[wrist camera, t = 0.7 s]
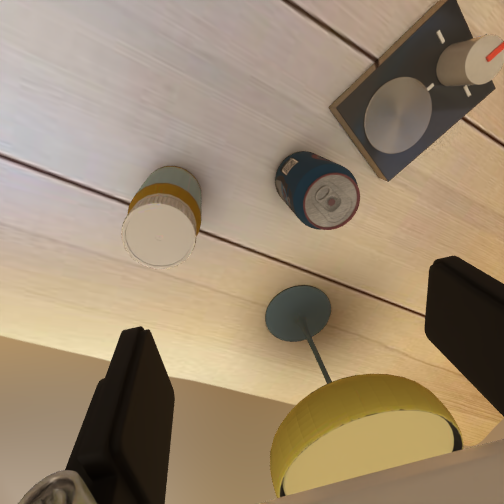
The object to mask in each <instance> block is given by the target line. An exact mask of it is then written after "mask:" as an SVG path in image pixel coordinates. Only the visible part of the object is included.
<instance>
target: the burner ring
mask: <svg viewBox="0 0 504 504" xmlns="http://www.w3.org/2000/svg"><path fill="white" fill-rule="evenodd" d="M431 113H432V102H431V97H430V94H429V92H428V90H427V88H426V87H425V86H424V84H423V83H421V82H420V81H419V80H417V79H415V78H412V77H398V78H394V79H392V80H390V81H387V82H386V83H384V84H383V85H382V86H381V87H379V88H378V89H377V91H376V92H375V93H374V94H373V96H372V97H371V99H370V100H369V102H368V105H367V107H366V110H365V114H364V132H365V135H366V138H367V140H368V141H369V143H370V144H371V145H372V146H373V147H374V148H375V149H376V150H378V151H380V152H383V153H388V154H395V153H399V152H402V151H405V150H407V149H409V148H410V147H412V146H413V145H414V144H415V143H416V142H417V141H418V140H419V139H420V138H421V137H422V135H423V134H424V132H425V131H426V129H427V127H428V124H429V121H430V118H431Z"/></svg>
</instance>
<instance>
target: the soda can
mask: <svg viewBox="0 0 504 504" xmlns="http://www.w3.org/2000/svg"><path fill="white" fill-rule="evenodd" d="M275 185H276V189H277V192H278V194H279V196H280V197H281V198H282V199H283V201H284V202H285V203H286V204H287V205H288V206H289V208H290V209H291V210H292V211H293V212H294V213H295V215H296V216H297V217H298V218H299V219H300V221H301V222H303V223H304V224H305V225H307V226H309V227H311V228H314V229H323V230H332V229H336V228H339V227H341V226H343V225H345V224H346V223H347V222H349V221H350V220H351V219H352V217H353V216H354V215H355V213H356V211H357V209H358V206H359V202H360V192H359V188H358V185H357V182H356V179H355V177H354V176H353V174H352V173H351V172H350V171H349V170H348V169H346V168H345V167H343V166H341V165H338V164H336V163H334V162H332V161H330V160H327V159H325V158H323V157H321V156H318V155H316V154H314V153H311V152H306V151H302V152H297V153H294V154H292V155H290V156H288V157H287V158H286V159H285V160H284V161H283V162H282V163H281V164H280V166H279V168H278V170H277V173H276V177H275Z"/></svg>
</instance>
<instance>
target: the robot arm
mask: <svg viewBox="0 0 504 504" xmlns="http://www.w3.org/2000/svg"><path fill="white" fill-rule="evenodd" d="M425 333H426V336H427V338H428V339H429V340H430V341H431V342H432V343H433V344H434V345H435V346H436V347H437V348H438V349H439V350H440V351H441V352H442V353H443V355H444V356H445V357H446V358H447V359H448V360H449V361H450V362H451V363H452V364H453V365H454V366H455V367H456V368H457V369H458V370H459V371H460V372H461V373H462V374H463V375H464V376H465V377H466V378H467V379H468V380H469V381H470V382H471V383H472V384H473V385H474V386H475V388H476V389H477V390H478V391H479V392H480V393H481V394H482V395H483V396H484V397H485V398H486V399H487V400H488V401H489V402H490V403H491V404H492V405H493V406H494V407H495V408H496V409H497V410H498V411H499V412H500V413H501V414H502V415H503V416H504V284H503V283H501V282H499V281H498V280H496V279H494V278H493V277H491V276H489V275H487V274H486V273H484V272H482V271H481V270H479V269H477V268H476V267H474V266H472V265H471V264H469V263H467V262H465V261H464V260H462V259H460V258H459V257H457V256H449V257H445V258H441V259H437V260H435V261H434V263H433V265H431V266H430V269H429V279H428V291H427V304H426V316H425ZM174 401H175V398H174V390H173V387H172V385H171V382H170V380H169V377H168V374H167V372H166V369H165V367H164V364H163V362H162V359H161V357H160V354H159V352H158V349H157V346H156V344H155V341H154V339H153V336H152V334H151V332H150V330H144V328H143V327H141V326H140V327H136V328H131V329H127V330H123V331H122V333H121V335H120V338H119V341H118V343H117V346H116V349H115V352H114V354H113V357H112V360H111V363H110V366H109V368H108V371H107V374H106V377H105V378H104V379H102V380H100V381H99V383H98V385H97V387H96V390H95V393H94V395H93V398H92V400H91V403H90V406H89V408H88V411H87V414H86V416H85V419H84V421H83V424H82V427H81V429H80V432H79V435H78V437H77V440H76V442H75V445H74V448H73V450H72V453H71V456H70V458H69V461H68V464H67V466H66V469H65V470H63V471H58V472H56V473H53V474H51V475H49V476H47V477H45V478H44V479H42V480H41V481H40V482H38V483H37V484H35V485H34V486H33V487H32V488H31V489H30V490H29V491H28V492H27V493H26V494H25V495H24V497H23V498H22V499H21V500H20V502H19V503H18V504H165V494H166V483H167V473H168V463H169V453H170V441H171V432H172V421H173V411H174ZM257 504H504V439H502V440H498V441H494V442H490V443H486V444H482V445H478V446H474V447H470V448H466V449H462V450H458V451H455V452H451V453H447V454H443V455H439V456H435V457H431V458H428V459H424V460H420V461H416V462H412V463H408V464H405V465H401V466H397V467H393V468H389V469H385V470H382V471H378V472H374V473H370V474H366V475H363V476H359V477H355V478H351V479H347V480H343V481H340V482H336V483H332V484H328V485H325V486H321V487H317V488H313V489H310V490H306V491H302V492H298V493H295V494H291V495H287V496H283V497H280V498H276V499H272V500H268V501H265V502H261V503H257Z"/></svg>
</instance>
